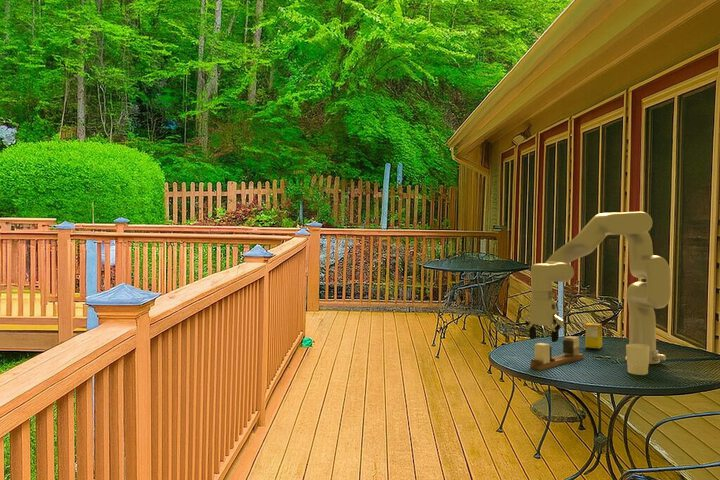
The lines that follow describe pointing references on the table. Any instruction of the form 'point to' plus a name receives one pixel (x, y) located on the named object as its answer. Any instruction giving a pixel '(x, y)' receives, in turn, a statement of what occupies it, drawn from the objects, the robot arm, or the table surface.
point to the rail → (570, 355)
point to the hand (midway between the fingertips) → (543, 339)
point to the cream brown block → (543, 352)
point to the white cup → (637, 358)
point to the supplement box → (593, 336)
